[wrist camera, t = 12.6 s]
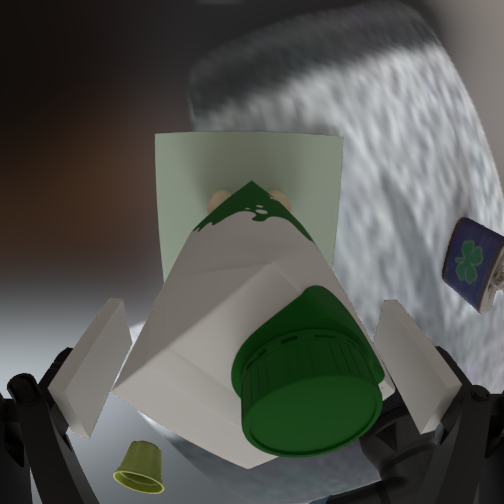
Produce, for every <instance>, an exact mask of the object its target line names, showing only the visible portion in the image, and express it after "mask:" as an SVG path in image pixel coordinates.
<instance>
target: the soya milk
mask: <svg viewBox="0 0 504 504" xmlns="http://www.w3.org/2000/svg"><path fill="white" fill-rule="evenodd" d="M112 392H113V393H114V394H115V395H117V396H118V397H119V398H121V399H122V400H124V401H125V402H127V403H128V404H129V405H131V406H132V407H134V408H135V409H137V410H138V411H140V412H141V413H143V414H144V415H146V416H148V417H149V418H151V419H152V420H154V421H156V422H157V423H159V424H161V425H162V426H164V427H165V428H167V429H169V430H171V431H172V432H174V433H176V434H178V435H179V436H181V437H183V438H185V439H186V440H188V441H190V442H192V443H194V444H196V445H198V446H200V447H202V448H203V449H205V450H207V451H209V452H211V453H213V454H215V455H217V456H220V457H222V458H224V459H226V460H228V461H230V462H232V463H235V464H237V465H239V466H241V467H244V468H246V469H250V468H252V467H255V466H257V465H260V464H262V463H265V462H267V461H269V460H272V459H274V458H276V457H279V456H280V457H289V458H301V457H311V456H317V455H321V454H325V453H329V452H332V451H335V450H337V449H340V448H342V447H344V446H346V445H348V444H350V443H352V442H353V441H355V440H357V439H358V438H359V437H361V436H362V435H363V434H365V433H366V432H367V431H368V430H369V429H370V428H371V427H372V426H373V424H374V423H375V422H376V420H377V419H378V417H379V415H380V413H381V410H382V406H383V400H385V399H386V398H388V397H389V396H390V395H392V394H393V393H394V392H395V386H394V384H393V382H392V380H391V378H390V376H389V374H388V373H387V371H386V369H385V367H384V365H383V363H382V361H381V359H380V357H379V355H378V353H377V351H376V349H375V347H374V345H373V343H372V342H371V340H370V338H369V336H368V334H367V332H366V330H365V328H364V326H363V325H362V323H361V321H360V319H359V317H358V315H357V313H356V311H355V310H354V308H353V306H352V304H351V302H350V301H349V299H348V297H347V295H346V293H345V292H344V290H343V288H342V287H341V285H340V283H339V281H338V280H337V278H336V276H335V275H334V273H333V271H332V270H331V268H330V266H329V265H328V263H327V262H326V260H325V258H324V257H323V255H322V254H321V252H320V250H319V249H318V247H317V246H316V244H315V242H314V241H313V239H312V238H311V236H310V235H309V233H308V232H307V231H306V229H305V228H304V227H303V226H302V224H301V223H300V222H299V221H298V220H297V219H296V218H295V217H294V216H293V215H292V214H291V213H290V212H289V211H288V210H287V209H286V208H285V207H284V206H283V205H282V204H281V203H280V202H279V201H278V200H277V199H275V198H274V197H273V196H271V195H270V194H269V193H268V192H266V191H265V190H264V189H262V188H261V187H260V186H258V185H257V184H256V183H255V182H253V181H252V180H251V181H250V182H249V183H247V184H246V185H245V186H243V187H242V188H241V189H239V190H238V191H237V192H235V193H234V194H233V195H231V196H230V197H229V198H227V199H226V200H225V201H224V202H223V203H221V204H220V205H219V206H218V207H217V208H216V209H214V210H213V211H212V212H211V213H210V214H209V215H208V216H207V217H206V218H204V219H203V220H202V221H201V222H200V223H199V224H198V225H197V226H196V227H195V228H194V229H193V230H192V232H191V233H190V235H189V236H188V238H187V240H186V242H185V244H184V246H183V248H182V249H181V251H180V253H179V255H178V257H177V259H176V261H175V263H174V265H173V267H172V269H171V271H170V273H169V275H168V277H167V279H166V281H165V283H164V286H163V288H162V290H161V293H160V294H159V295H158V296H157V297H156V299H155V302H154V305H153V309H152V311H151V313H150V315H149V317H148V319H147V321H146V323H145V325H144V327H143V329H142V331H141V333H140V335H139V337H138V339H137V341H136V343H135V344H134V347H133V349H132V351H131V353H130V355H129V357H128V359H127V361H126V363H125V365H124V367H123V369H122V371H121V373H120V375H119V377H118V379H117V381H116V383H115V385H114V387H113V389H112Z"/></svg>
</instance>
